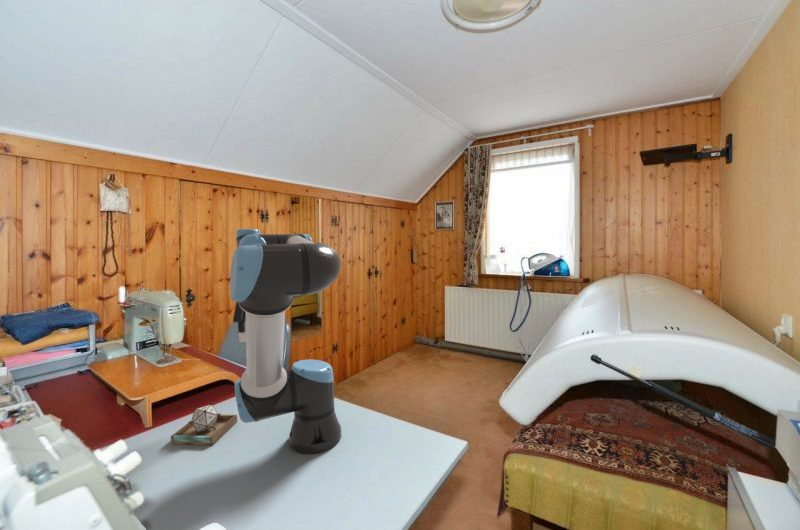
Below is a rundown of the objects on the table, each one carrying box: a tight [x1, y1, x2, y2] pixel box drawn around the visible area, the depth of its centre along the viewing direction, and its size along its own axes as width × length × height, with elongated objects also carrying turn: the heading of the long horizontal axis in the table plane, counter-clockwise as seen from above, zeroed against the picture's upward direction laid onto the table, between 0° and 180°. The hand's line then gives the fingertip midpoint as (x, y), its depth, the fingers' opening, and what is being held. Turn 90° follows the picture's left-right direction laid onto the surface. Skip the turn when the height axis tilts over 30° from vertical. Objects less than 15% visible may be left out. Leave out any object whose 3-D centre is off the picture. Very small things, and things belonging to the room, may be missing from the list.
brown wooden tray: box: [170, 413, 238, 446], centre depth 109 cm, size 13×13×2 cm
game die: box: [188, 401, 221, 436], centre depth 108 cm, size 9×8×10 cm
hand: (254, 335), depth 121 cm, fingers open, 13 cm apart
